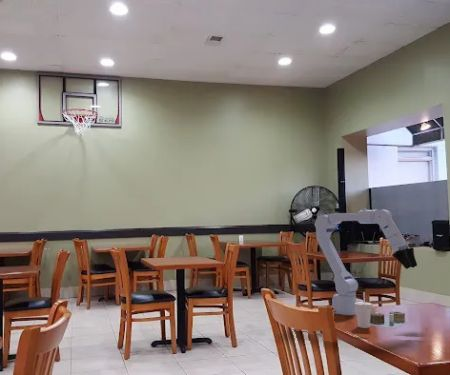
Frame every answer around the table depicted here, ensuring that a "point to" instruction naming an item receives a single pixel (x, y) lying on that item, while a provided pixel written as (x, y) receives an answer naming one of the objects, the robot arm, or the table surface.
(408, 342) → the table surface
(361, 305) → the smoothie
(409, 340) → the table surface
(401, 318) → the beech gear
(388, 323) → the gear board
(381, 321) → the walnut gear
